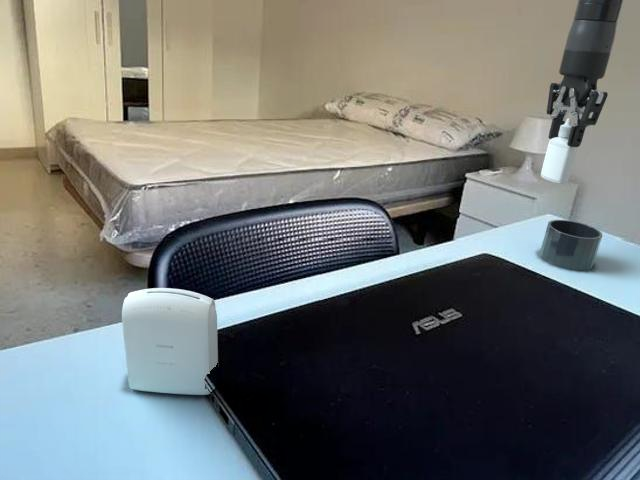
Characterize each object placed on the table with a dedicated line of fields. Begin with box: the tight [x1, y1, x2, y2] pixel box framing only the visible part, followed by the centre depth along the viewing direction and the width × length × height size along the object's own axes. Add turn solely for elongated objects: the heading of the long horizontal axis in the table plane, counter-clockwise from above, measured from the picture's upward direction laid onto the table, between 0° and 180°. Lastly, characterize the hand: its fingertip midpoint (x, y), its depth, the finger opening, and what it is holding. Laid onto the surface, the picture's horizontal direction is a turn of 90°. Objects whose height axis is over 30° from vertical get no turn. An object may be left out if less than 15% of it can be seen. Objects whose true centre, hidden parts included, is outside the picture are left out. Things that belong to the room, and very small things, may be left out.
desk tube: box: [539, 219, 603, 272], centre depth 99 cm, size 10×10×7 cm
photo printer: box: [121, 287, 219, 396], centre depth 56 cm, size 10×4×12 cm, turn 88°
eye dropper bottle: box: [540, 118, 578, 185], centre depth 96 cm, size 4×6×12 cm
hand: (563, 142), depth 96 cm, fingers closed on eye dropper bottle, 5 cm apart
